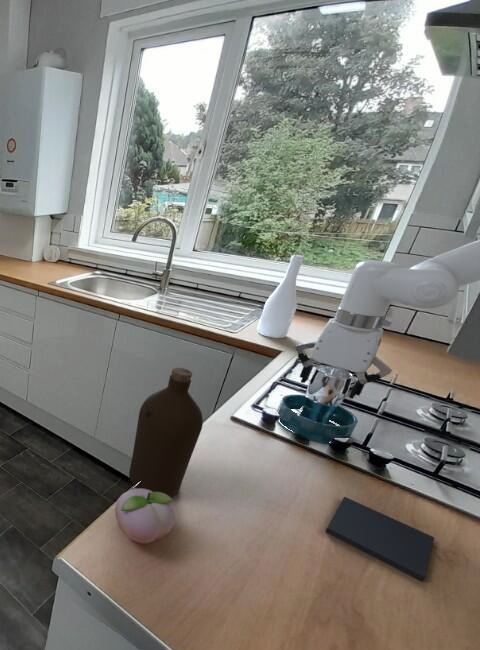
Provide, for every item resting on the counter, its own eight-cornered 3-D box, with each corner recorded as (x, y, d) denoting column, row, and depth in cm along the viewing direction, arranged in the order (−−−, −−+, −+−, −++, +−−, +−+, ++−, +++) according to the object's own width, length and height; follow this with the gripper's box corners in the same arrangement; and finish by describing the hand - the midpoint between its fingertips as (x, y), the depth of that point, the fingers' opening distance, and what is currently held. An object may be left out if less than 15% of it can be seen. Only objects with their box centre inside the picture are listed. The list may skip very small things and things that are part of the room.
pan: (355, 430, 99) (363, 412, 97) (340, 453, 91) (349, 435, 89) (285, 405, 109) (292, 388, 107) (266, 424, 101) (273, 406, 99)
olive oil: (170, 510, 75) (204, 392, 65) (116, 481, 82) (139, 370, 71) (190, 482, 82) (224, 371, 71) (139, 457, 89) (163, 353, 78)
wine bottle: (250, 330, 160) (275, 253, 147) (269, 328, 162) (295, 252, 149) (272, 339, 151) (301, 258, 139) (292, 337, 154) (321, 257, 141)
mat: (431, 541, 69) (434, 537, 69) (422, 581, 63) (425, 577, 62) (342, 500, 78) (344, 496, 78) (325, 531, 71) (327, 527, 71)
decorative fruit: (140, 511, 75) (150, 468, 71) (176, 546, 68) (190, 501, 64) (98, 526, 71) (107, 482, 67) (132, 565, 65) (144, 518, 60)
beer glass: (286, 417, 103) (308, 364, 97) (315, 418, 103) (338, 365, 97) (306, 433, 97) (330, 378, 91) (336, 435, 97) (362, 379, 90)
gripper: (416, 326, 84) (379, 398, 92) (313, 305, 97) (288, 370, 104) (410, 335, 80) (372, 409, 87) (304, 311, 92) (278, 379, 100)
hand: (327, 388), depth 96 cm, fingers open, 8 cm apart
